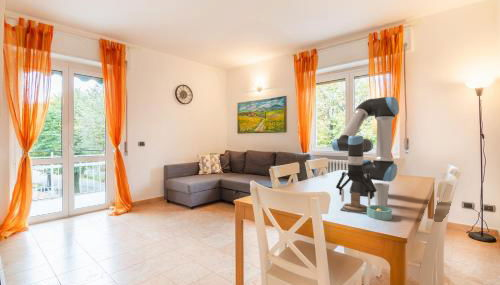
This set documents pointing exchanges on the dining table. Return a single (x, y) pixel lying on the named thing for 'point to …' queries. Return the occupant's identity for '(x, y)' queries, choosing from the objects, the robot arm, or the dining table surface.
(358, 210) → the lid
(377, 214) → the bowl
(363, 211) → the mat
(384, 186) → the cup
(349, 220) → the dining table surface
